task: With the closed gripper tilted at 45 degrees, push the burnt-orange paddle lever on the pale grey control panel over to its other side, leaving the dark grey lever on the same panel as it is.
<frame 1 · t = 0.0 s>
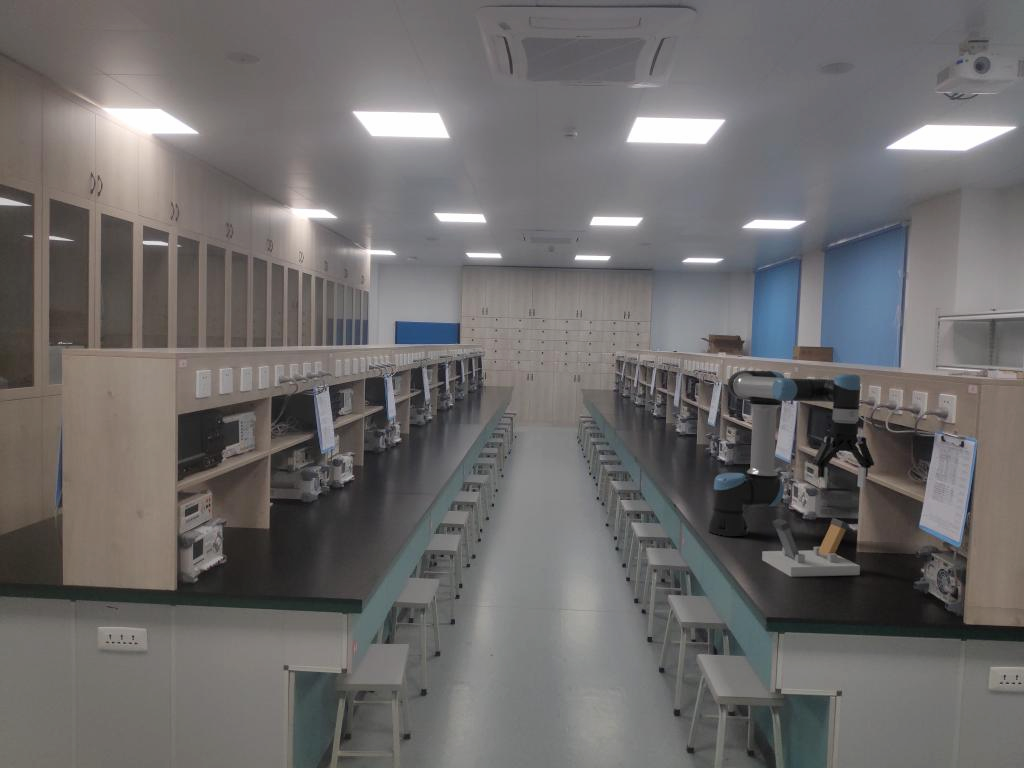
hand: (842, 487, 209), 28 cm above the table, tool pointing down, fingers open, 13 cm apart
orange lever: (832, 539, 215), point 9 cm above the table, hinge at -25.0°
grey lever: (787, 539, 212), point 9 cm above the table, hinge at 25.0°
control panel: (809, 567, 214), on the table
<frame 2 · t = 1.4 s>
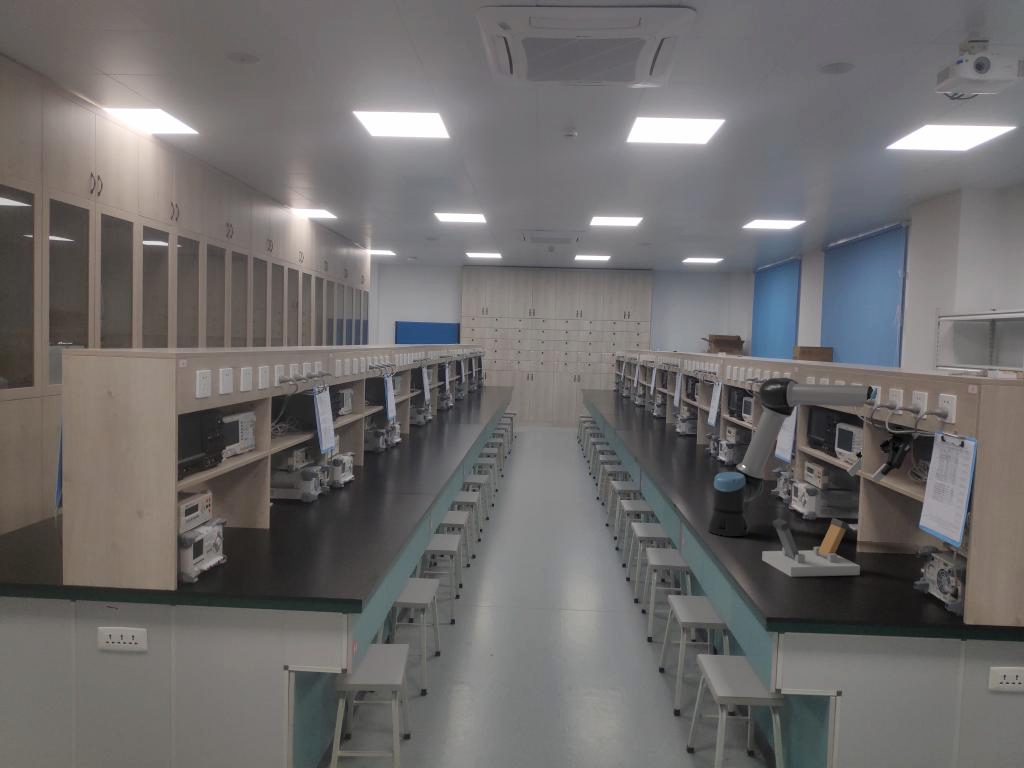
hand: (861, 477, 220), 29 cm above the table, tool tilted 45°, fingers open, 12 cm apart
nothing on the table moved.
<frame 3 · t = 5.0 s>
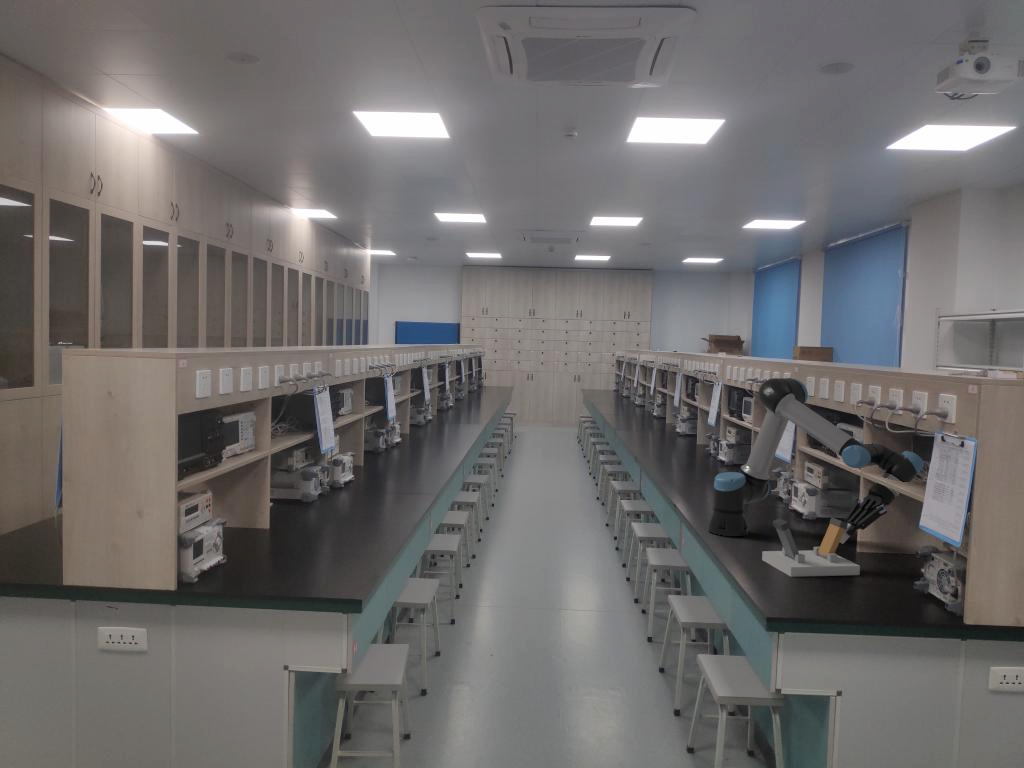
hand: (839, 540, 215), 9 cm above the table, tool tilted 45°, fingers closed
orange lever: (831, 538, 215), point 9 cm above the table, hinge at -22.5°, touching gripper
everything else where it was.
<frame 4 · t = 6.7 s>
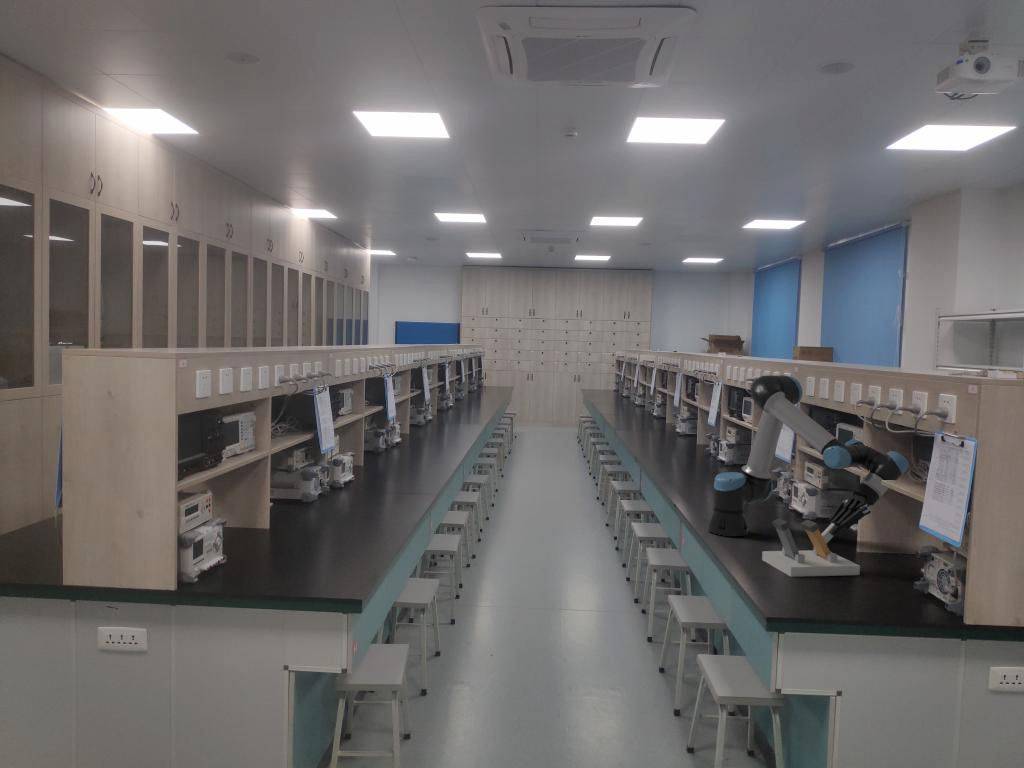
hand: (822, 540, 214), 9 cm above the table, tool tilted 45°, fingers closed
orange lever: (817, 540, 214), point 9 cm above the table, hinge at 31.0°, touching gripper
everything else where it was.
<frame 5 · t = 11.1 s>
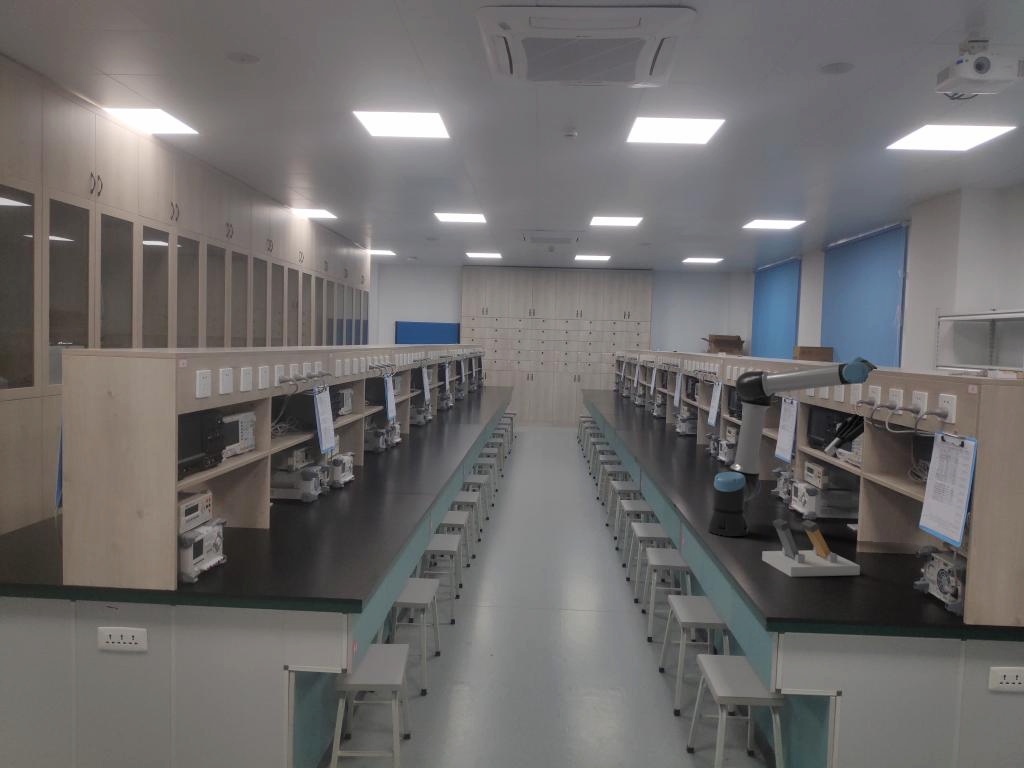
hand: (827, 453, 228), 36 cm above the table, tool tilted 45°, fingers closed
orange lever: (817, 540, 214), point 9 cm above the table, hinge at 31.1°
everything else where it was.
at the end: orange lever at +31° (first picture: -25°); grey lever at +25° (first picture: +25°) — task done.
